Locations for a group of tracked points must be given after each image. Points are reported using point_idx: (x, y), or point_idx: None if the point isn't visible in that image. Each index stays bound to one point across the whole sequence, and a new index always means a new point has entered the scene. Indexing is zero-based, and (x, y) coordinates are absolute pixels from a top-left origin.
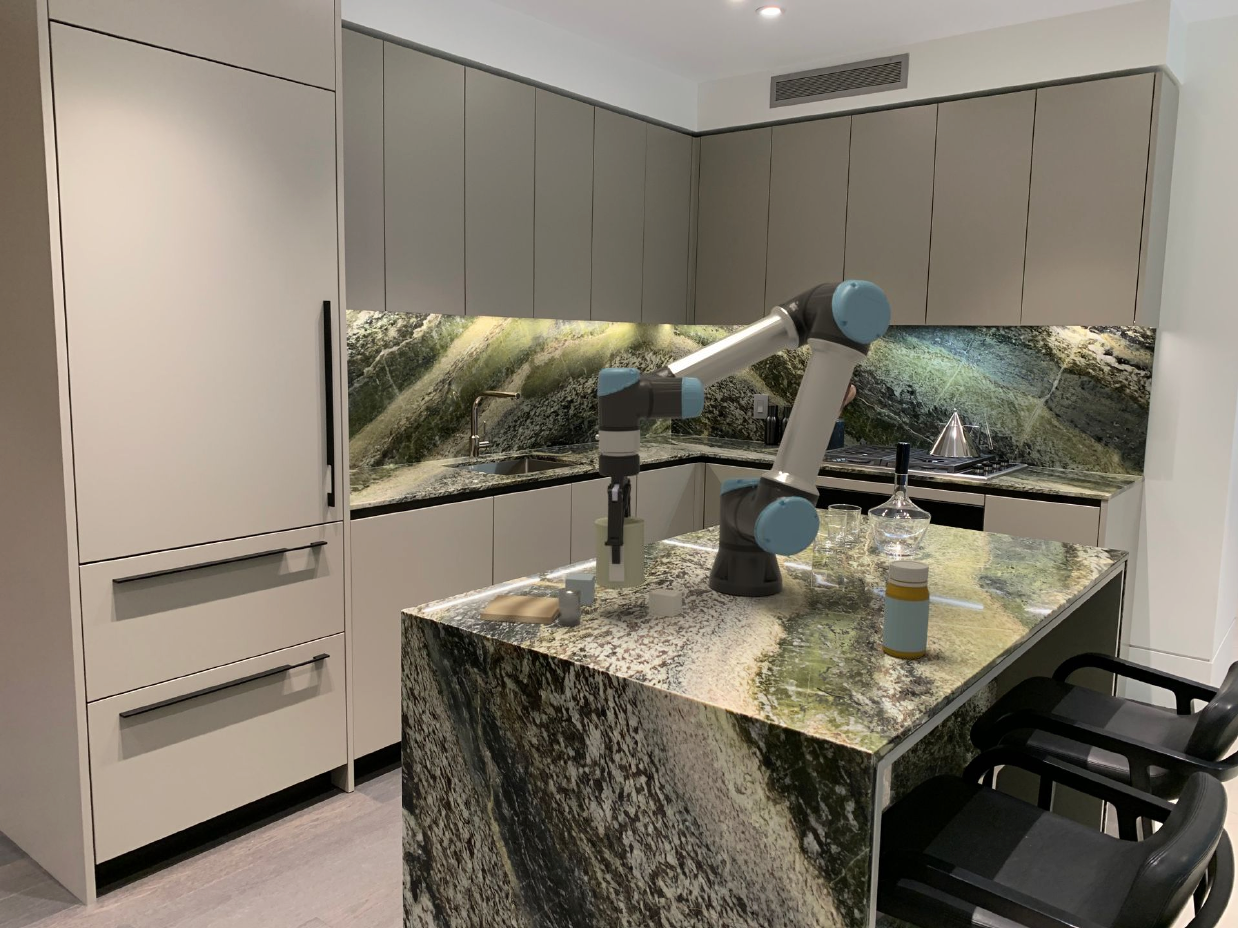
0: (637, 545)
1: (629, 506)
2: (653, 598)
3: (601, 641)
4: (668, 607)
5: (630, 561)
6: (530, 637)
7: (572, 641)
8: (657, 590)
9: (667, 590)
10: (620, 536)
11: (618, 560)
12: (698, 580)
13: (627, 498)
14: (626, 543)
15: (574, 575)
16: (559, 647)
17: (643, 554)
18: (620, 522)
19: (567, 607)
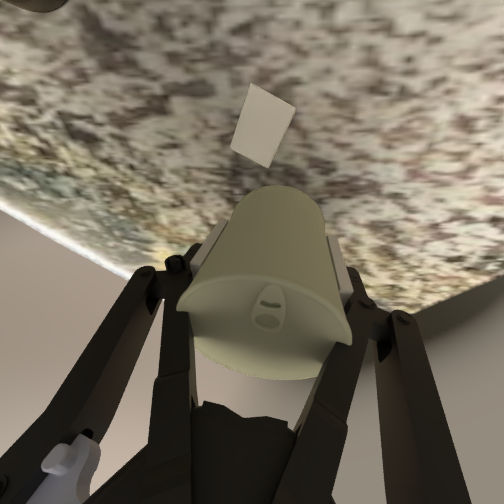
0: (319, 250)
1: (123, 332)
2: (273, 157)
3: (423, 235)
4: (290, 121)
5: (327, 244)
6: (378, 304)
7: (410, 268)
8: (247, 149)
9: (243, 125)
10: (420, 338)
11: (358, 276)
12: (23, 47)
13: (306, 476)
14: (337, 285)
15: None
16: (432, 282)
17: (283, 214)
18: (436, 391)
19: None
